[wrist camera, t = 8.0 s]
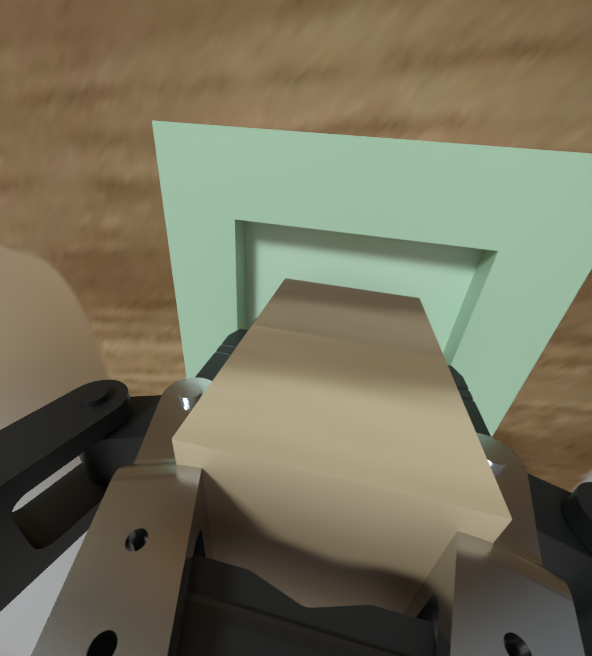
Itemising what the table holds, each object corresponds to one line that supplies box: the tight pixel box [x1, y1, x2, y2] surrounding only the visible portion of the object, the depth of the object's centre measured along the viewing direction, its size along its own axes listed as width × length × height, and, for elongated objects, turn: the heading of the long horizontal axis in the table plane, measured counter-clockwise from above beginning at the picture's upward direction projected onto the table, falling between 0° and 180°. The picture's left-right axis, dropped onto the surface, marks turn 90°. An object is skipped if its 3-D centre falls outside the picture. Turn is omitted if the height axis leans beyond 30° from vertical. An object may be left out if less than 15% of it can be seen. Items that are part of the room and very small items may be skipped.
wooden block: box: [172, 278, 512, 614], centre depth 8 cm, size 4×4×7 cm
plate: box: [152, 121, 592, 437], centre depth 12 cm, size 13×13×2 cm
